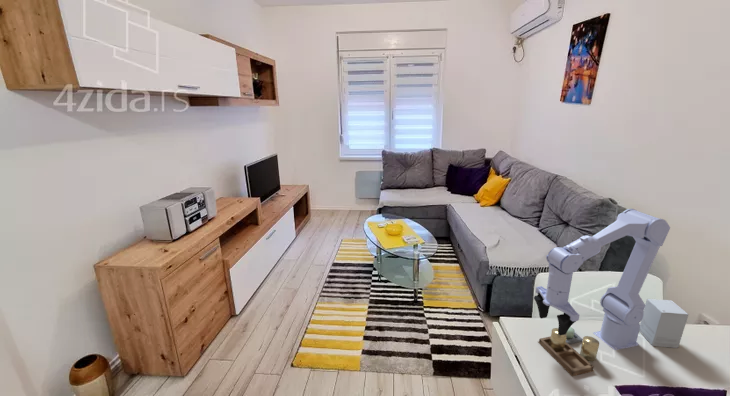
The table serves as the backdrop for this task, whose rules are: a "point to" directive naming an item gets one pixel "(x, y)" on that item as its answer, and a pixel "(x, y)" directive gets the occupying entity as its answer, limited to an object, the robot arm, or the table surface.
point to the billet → (589, 348)
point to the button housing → (575, 340)
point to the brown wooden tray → (568, 358)
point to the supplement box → (663, 323)
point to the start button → (570, 333)
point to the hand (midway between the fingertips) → (552, 325)
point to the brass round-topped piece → (557, 341)
